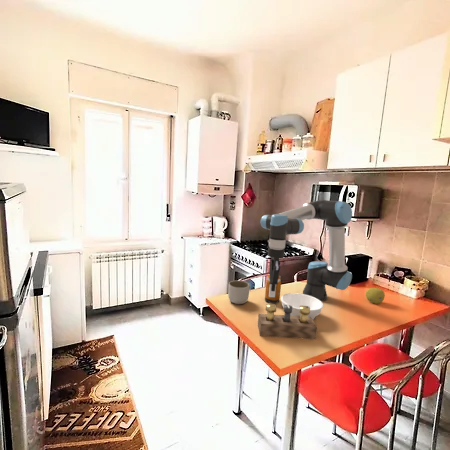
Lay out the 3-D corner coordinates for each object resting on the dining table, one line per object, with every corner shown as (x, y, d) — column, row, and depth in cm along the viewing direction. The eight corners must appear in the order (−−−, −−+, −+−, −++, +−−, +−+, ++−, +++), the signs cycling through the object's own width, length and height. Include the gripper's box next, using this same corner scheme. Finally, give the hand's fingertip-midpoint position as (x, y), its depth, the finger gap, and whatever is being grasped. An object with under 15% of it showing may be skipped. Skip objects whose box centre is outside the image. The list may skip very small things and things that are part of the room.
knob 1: (273, 321, 132) (275, 303, 131) (275, 326, 128) (277, 308, 126) (264, 321, 132) (265, 303, 131) (265, 326, 128) (267, 307, 126)
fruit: (387, 305, 171) (389, 290, 169) (374, 306, 167) (376, 291, 166) (373, 298, 180) (375, 284, 179) (361, 300, 177) (363, 285, 175)
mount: (309, 328, 135) (310, 317, 135) (315, 339, 125) (317, 327, 125) (257, 324, 136) (258, 313, 135) (259, 335, 126) (260, 323, 125)
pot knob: (289, 323, 132) (291, 304, 131) (291, 327, 128) (293, 308, 127) (281, 322, 132) (283, 303, 131) (283, 326, 128) (284, 307, 127)
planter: (244, 296, 170) (245, 280, 168) (251, 305, 158) (252, 287, 157) (225, 297, 166) (226, 280, 165) (231, 306, 155) (232, 288, 153)
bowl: (276, 305, 161) (277, 291, 160) (314, 307, 160) (316, 294, 159) (283, 323, 138) (285, 308, 137) (327, 327, 138) (329, 311, 137)
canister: (278, 298, 170) (281, 267, 167) (280, 306, 159) (283, 273, 157) (264, 297, 171) (266, 266, 168) (265, 304, 160) (267, 272, 157)
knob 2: (306, 324, 132) (308, 305, 131) (309, 329, 128) (311, 310, 126) (296, 323, 132) (298, 305, 131) (299, 328, 128) (301, 309, 126)
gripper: (266, 244, 131) (262, 291, 134) (270, 250, 118) (265, 301, 122) (281, 245, 131) (277, 292, 134) (287, 251, 118) (282, 303, 122)
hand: (271, 296), depth 128 cm, fingers closed
